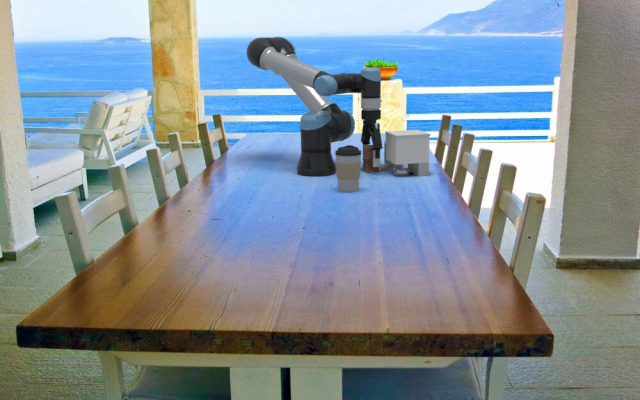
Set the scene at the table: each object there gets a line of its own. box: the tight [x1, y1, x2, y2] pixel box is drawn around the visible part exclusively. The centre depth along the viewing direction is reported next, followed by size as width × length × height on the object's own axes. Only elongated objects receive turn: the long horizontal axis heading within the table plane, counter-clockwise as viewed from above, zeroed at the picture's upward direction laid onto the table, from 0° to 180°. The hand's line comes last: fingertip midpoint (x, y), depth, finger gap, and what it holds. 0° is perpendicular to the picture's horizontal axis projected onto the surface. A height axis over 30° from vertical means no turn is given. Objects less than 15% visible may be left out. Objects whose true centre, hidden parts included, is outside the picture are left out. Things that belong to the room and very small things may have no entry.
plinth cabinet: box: [385, 129, 431, 177], centre depth 261 cm, size 13×12×16 cm
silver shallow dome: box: [393, 166, 411, 177], centre depth 261 cm, size 6×6×2 cm
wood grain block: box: [362, 144, 401, 174], centre depth 269 cm, size 14×5×10 cm, turn 103°
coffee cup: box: [334, 144, 362, 193], centre depth 235 cm, size 9×9×15 cm
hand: (371, 163), depth 268 cm, fingers open, 13 cm apart
